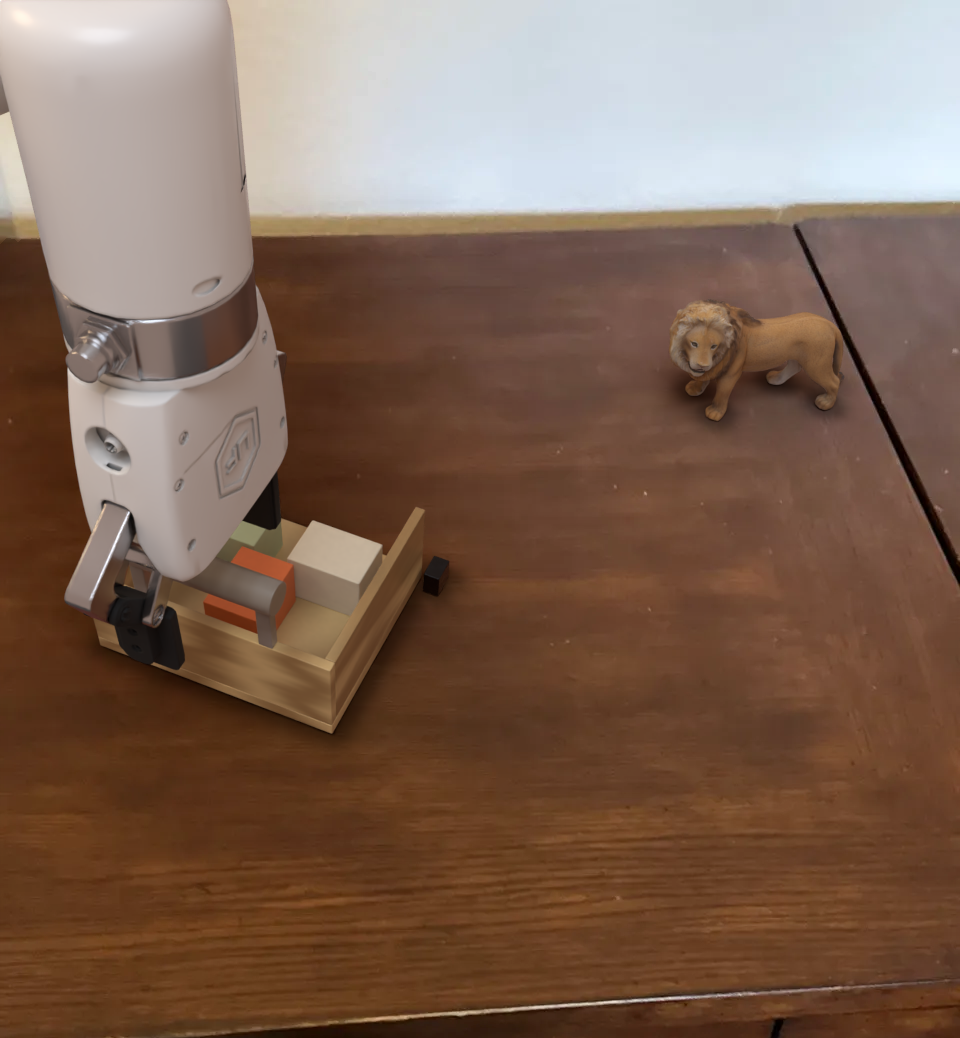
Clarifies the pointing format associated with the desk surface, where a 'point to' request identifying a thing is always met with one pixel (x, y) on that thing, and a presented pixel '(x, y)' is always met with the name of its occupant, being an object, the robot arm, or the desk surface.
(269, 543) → the block
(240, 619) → the orange block
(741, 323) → the lion figurine
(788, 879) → the desk surface
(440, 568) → the stand
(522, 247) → the desk surface
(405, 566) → the wooden box
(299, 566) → the block
